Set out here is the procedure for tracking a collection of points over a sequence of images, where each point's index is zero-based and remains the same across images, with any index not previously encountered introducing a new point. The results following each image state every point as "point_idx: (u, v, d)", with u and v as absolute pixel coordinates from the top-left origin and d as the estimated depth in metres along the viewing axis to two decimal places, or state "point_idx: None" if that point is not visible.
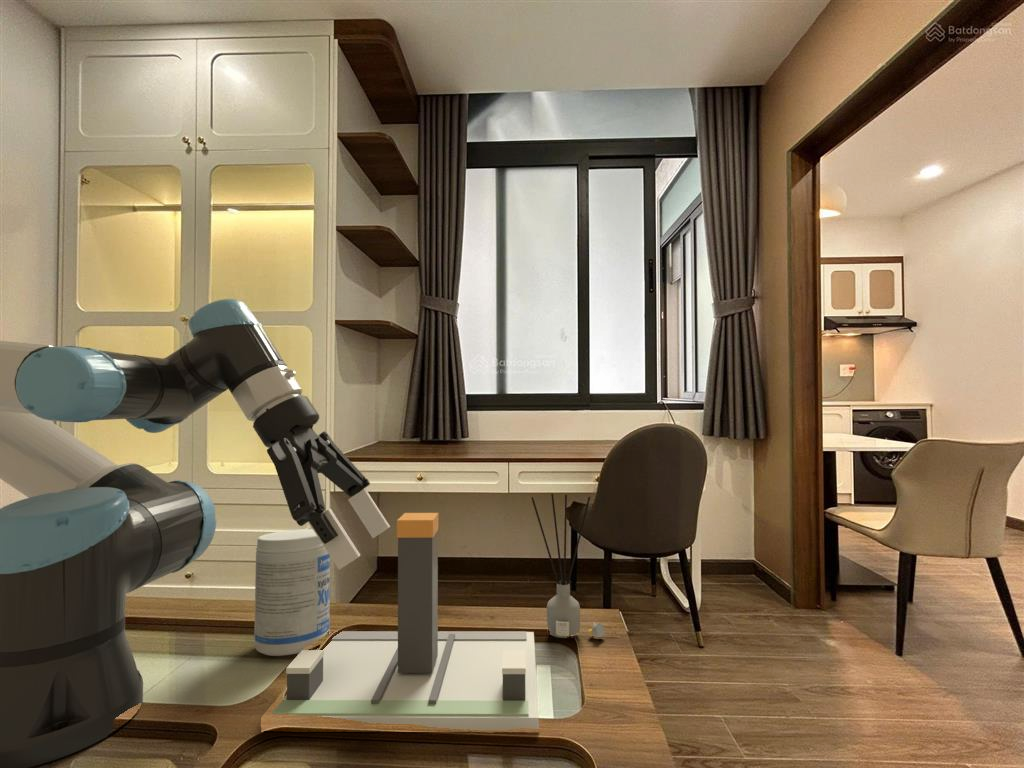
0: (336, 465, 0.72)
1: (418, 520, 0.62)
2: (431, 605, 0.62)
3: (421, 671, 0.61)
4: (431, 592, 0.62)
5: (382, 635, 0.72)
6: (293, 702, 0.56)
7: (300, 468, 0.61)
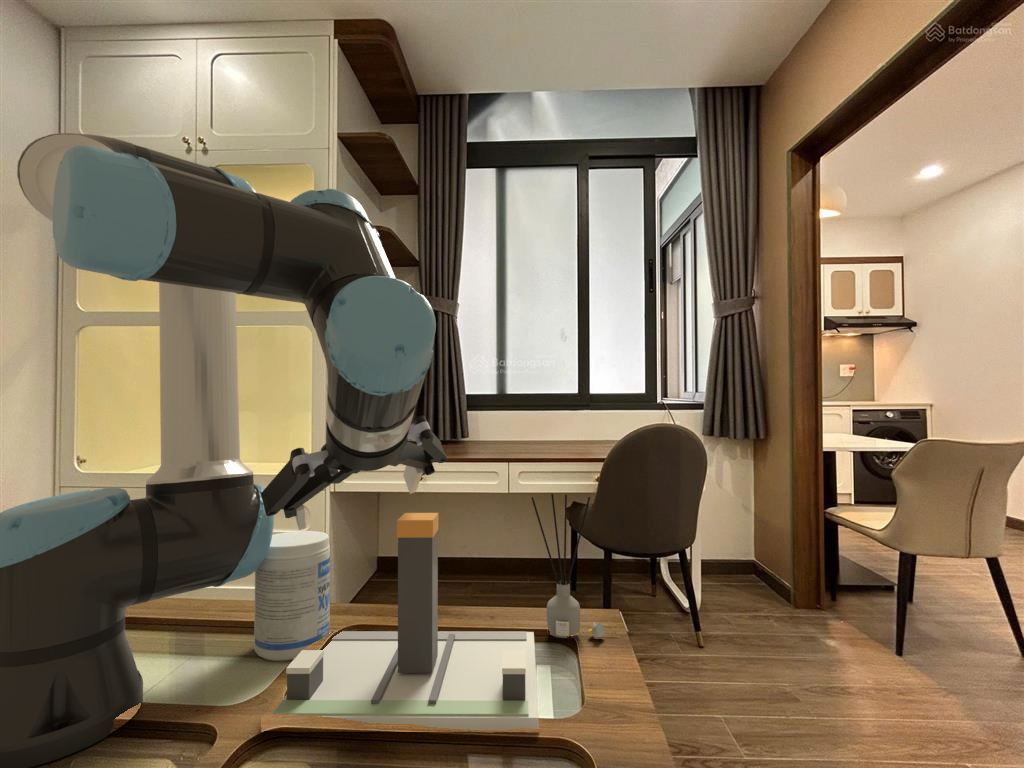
0: None
1: (418, 520, 0.62)
2: (431, 605, 0.62)
3: (421, 671, 0.61)
4: (431, 592, 0.62)
5: (382, 635, 0.72)
6: (293, 702, 0.56)
7: (295, 490, 0.52)
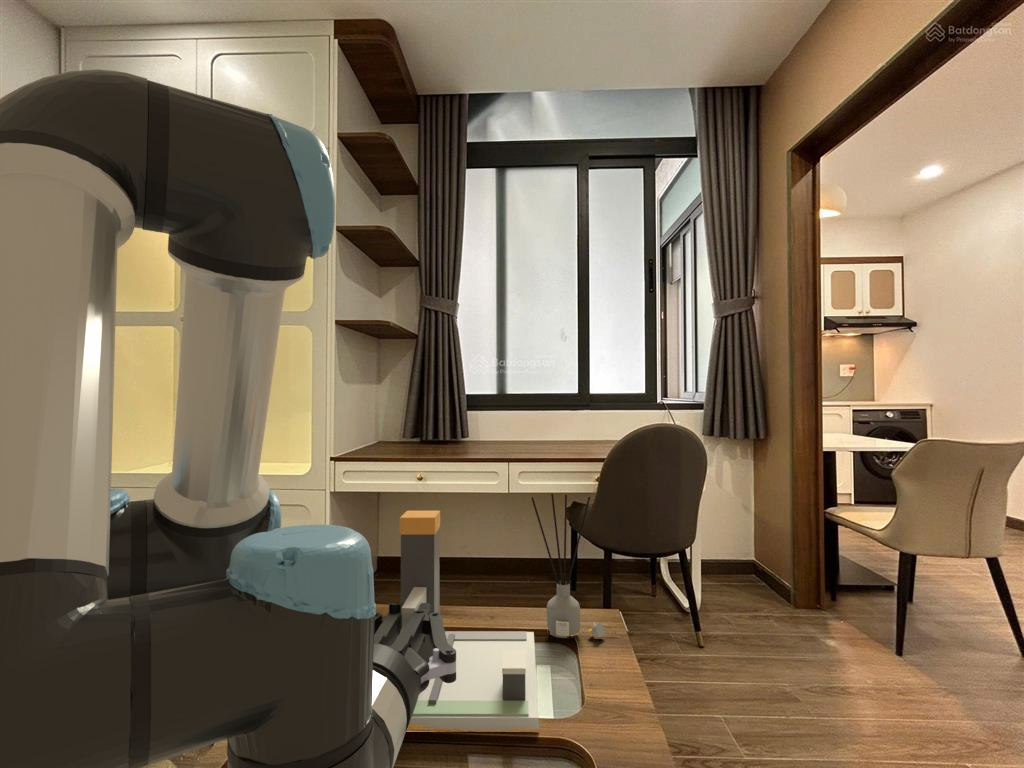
0: None
1: (420, 517, 0.63)
2: (433, 600, 0.63)
3: None
4: (433, 588, 0.63)
5: None
6: None
7: None
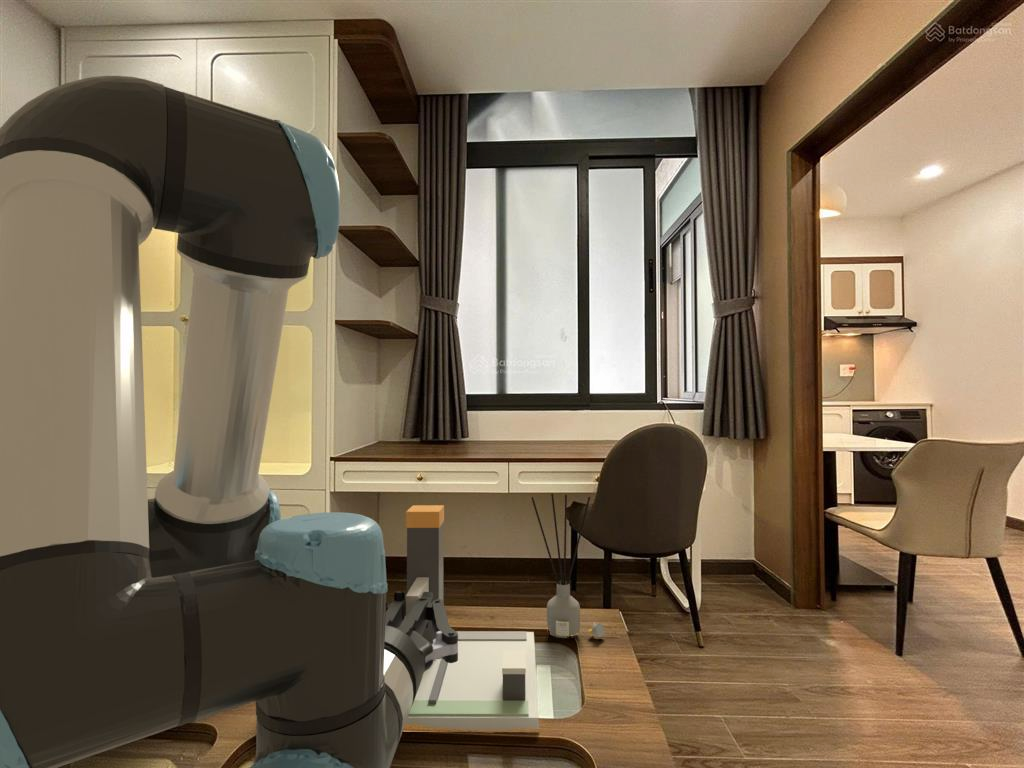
0: None
1: (425, 512, 0.67)
2: (437, 590, 0.66)
3: None
4: (437, 578, 0.66)
5: None
6: None
7: None
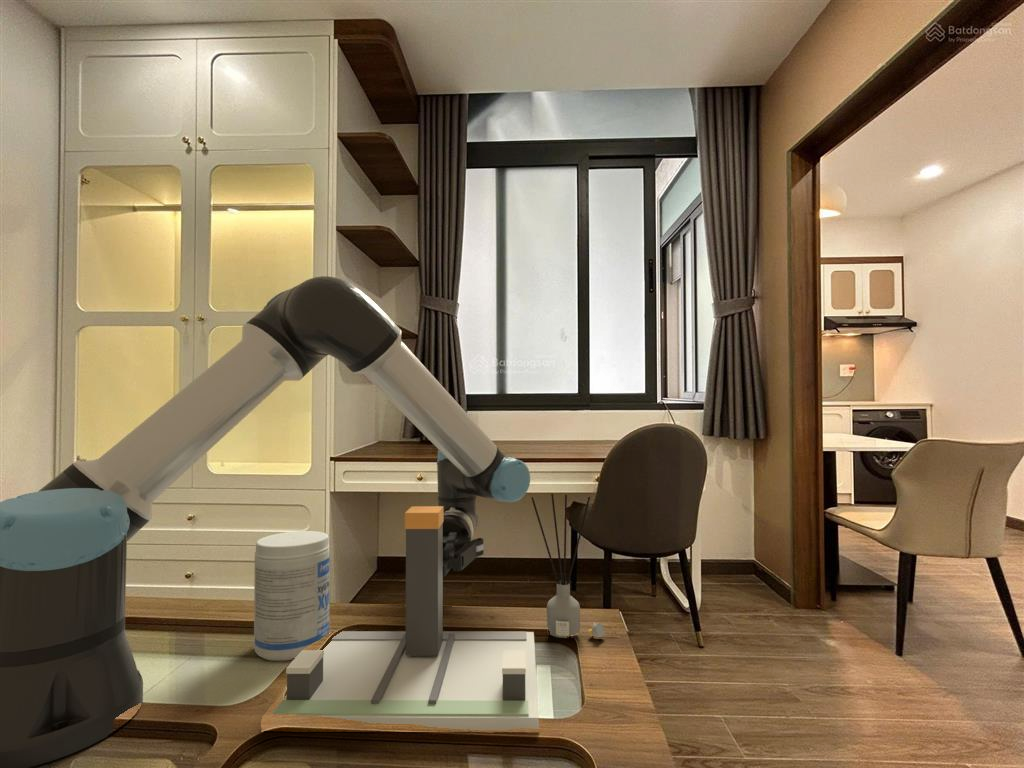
0: (446, 545, 0.83)
1: (424, 513, 0.66)
2: (437, 592, 0.66)
3: (428, 654, 0.65)
4: (437, 580, 0.66)
5: (382, 635, 0.72)
6: (293, 702, 0.56)
7: None
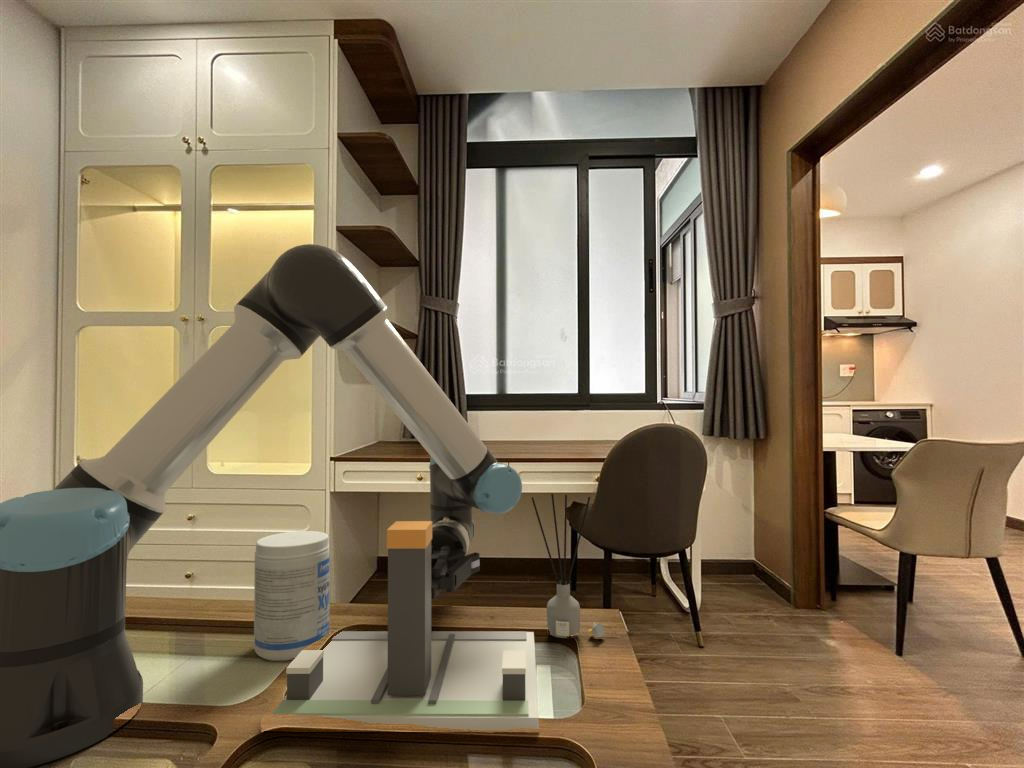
0: None
1: (410, 530, 0.57)
2: (424, 622, 0.57)
3: (413, 694, 0.56)
4: (424, 608, 0.57)
5: (382, 635, 0.72)
6: (293, 702, 0.56)
7: None
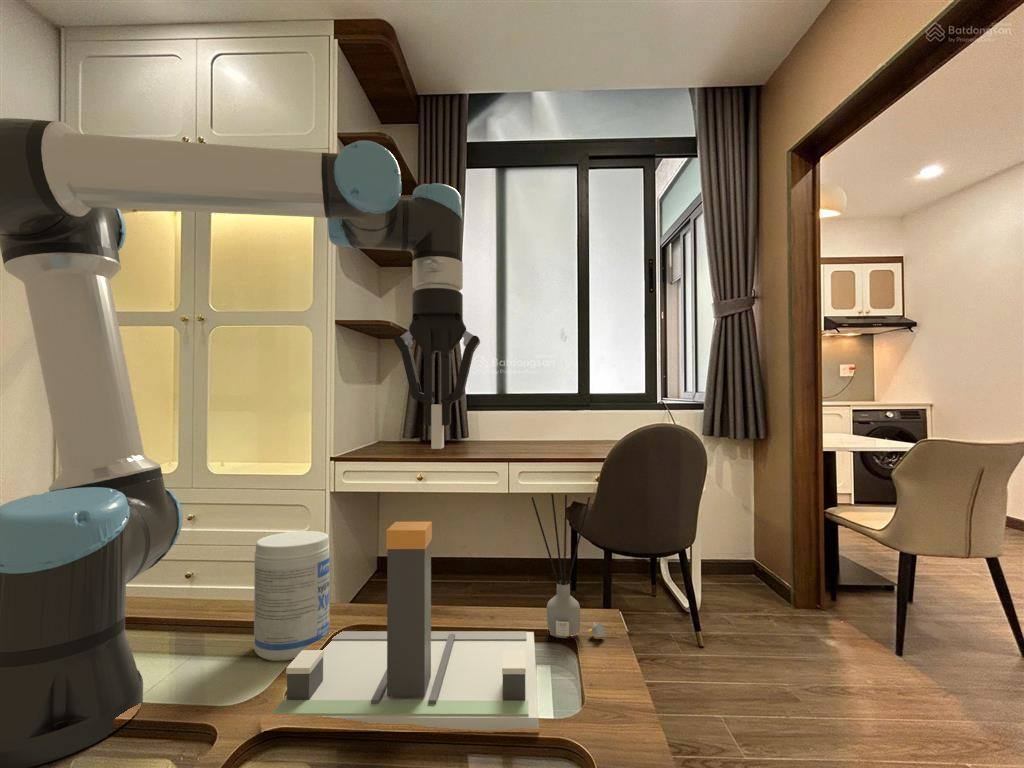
0: (441, 361, 0.79)
1: (409, 530, 0.57)
2: (423, 623, 0.57)
3: (413, 695, 0.56)
4: (423, 608, 0.57)
5: (382, 635, 0.72)
6: (293, 702, 0.56)
7: (408, 362, 0.78)
